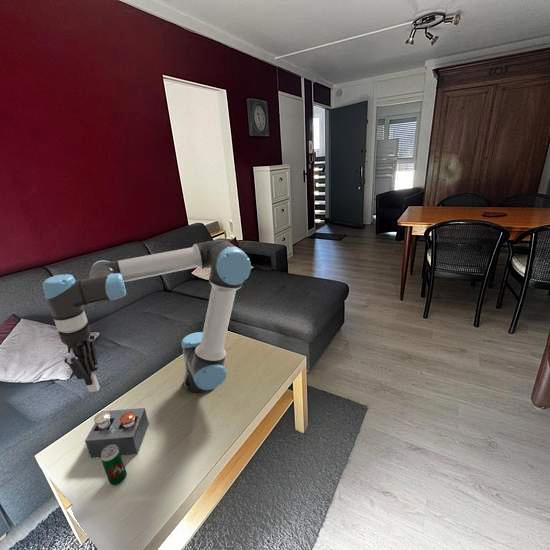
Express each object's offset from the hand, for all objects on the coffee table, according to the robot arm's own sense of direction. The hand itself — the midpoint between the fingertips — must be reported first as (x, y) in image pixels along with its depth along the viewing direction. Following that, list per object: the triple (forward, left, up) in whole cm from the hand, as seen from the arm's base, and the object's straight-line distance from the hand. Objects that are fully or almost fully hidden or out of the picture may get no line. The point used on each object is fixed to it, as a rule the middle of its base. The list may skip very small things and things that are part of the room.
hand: (94, 389), depth 97 cm
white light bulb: (0, 0, -19) cm, 19 cm away
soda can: (-8, +14, -23) cm, 28 cm away
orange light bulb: (-8, 0, -20) cm, 22 cm away
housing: (-4, 0, -23) cm, 23 cm away
